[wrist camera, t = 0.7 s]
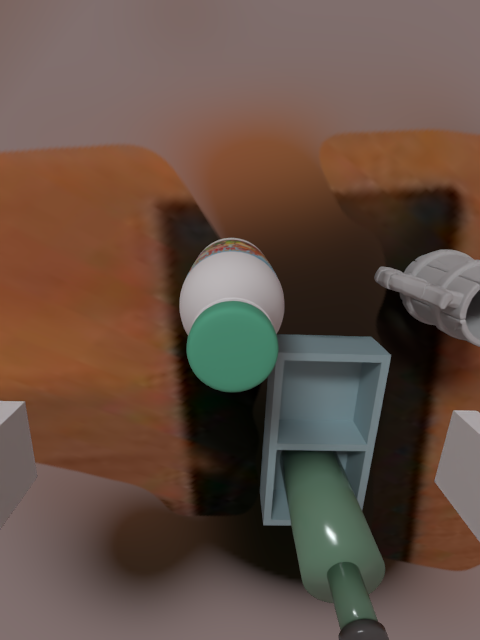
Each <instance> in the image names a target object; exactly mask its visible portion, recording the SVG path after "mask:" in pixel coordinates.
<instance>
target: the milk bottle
mask: <svg viewBox="0 0 480 640" xmlns="http://www.w3.org/2000/svg"><path fill="white" fill-rule="evenodd" d="M283 315H284V295H283V291H282V287H281V285H280V282H279V280H278V278H277V276H276V274H275V272H274V270H273V269H272V267H271V265H270V264H269V262H268V261H267V259H266V258H265V256H264V255H263V254H262V252H261V251H260V250H259V249H258V248H257V247H256V246H254V245H253V244H251V243H250V242H248V241H245V240H242V239H238V238H225V239H221V240H218V241H215V242H213V243H212V244H210V245H209V246H207V247H206V248H205V249H204V250H203V251H202V252H201V254H200V255H199V256H198V258H197V260H196V261H195V263H194V264H193V266H192V268H191V269H190V271H189V273H188V275H187V277H186V279H185V282H184V284H183V287H182V290H181V294H180V316H181V320H182V323H183V326H184V329H185V331H186V333H187V334H188V340H187V357H188V361H189V363H190V366H191V368H192V370H193V372H194V373H195V374H196V376H197V377H198V378H199V379H200V380H201V381H202V382H203V383H205V384H206V385H208V386H210V387H212V388H214V389H216V390H220V391H224V392H241V391H245V390H249V389H251V388H253V387H255V386H257V385H259V384H260V383H262V382H263V381H264V380H265V379H266V378H267V377H268V376H269V375H270V373H271V372H272V370H273V368H274V366H275V364H276V361H277V357H278V350H279V347H278V339H277V335H276V334H277V332H278V331H279V328H280V326H281V323H282V319H283Z"/></svg>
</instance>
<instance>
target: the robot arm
mask: <svg viewBox="0 0 480 640" xmlns="http://www.w3.org/2000/svg"><path fill="white" fill-rule="evenodd" d="M36 478H37V471H36V465H35V459H34V453H33V447H32V441H31V435H30V429H29V423H28V417H27V411H26V406H25V402H18V401H0V529H1V528H2V526H3V525H4V524H5V522H6V521H7V519H8V518H9V516H10V514H12V512H13V511H14V509H15V508H16V506H17V505H18V504H19V502H20V501H21V499H22V498H23V497H24V495H25V494H26V492H27V491H28V489H29V488H30V487H31V485H32V484H33V482H34V481H35V480H36ZM435 483H436V484H437V485H438V487H439V488H440V489H441V491H442V492H443V493H444V495H445V496H446V497H447V499H448V500H449V501H450V503H451V504H452V505H453V507H454V508H455V509H456V511H457V512H458V514H459V515H460V516H461V518H462V519H463V520H464V522H465V523H466V524H467V526H468V527H469V528H470V530H471V531H472V532H473V534H474V535H475V536H476V538H477V539H478V540H479V542H480V413H479V412H478V411H457V410H453V413H452V417H451V421H450V425H449V428H448V432H447V436H446V440H445V444H444V447H443V451H442V455H441V459H440V462H439V466H438V470H437V474H436V477H435Z"/></svg>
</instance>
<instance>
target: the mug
mask: <svg viewBox="0 0 480 640" xmlns="http://www.w3.org/2000/svg"><path fill="white" fill-rule="evenodd" d="M415 261H416V262H415ZM415 261H413V262H412V263H411V264H410V265H409V266H408V267H407V268H406V270H405V272H404V273H402V272H401V271H399V270H395V269H392V268H389V267H380V268H379V269H378V271H377V272H376V274H375V281H376V282H377V283H379V284H380V285H381V286H383V287H385V288H387V289H390V290H394V291H397V292H400V298H401V299H402V300H403V302H402V303H403V305H404V306H405V308H406V310H407V311H408V313H409V314H410V315H412V316H413V317H414V318H415V319H417V320H419V321H421V322H423V323H426V324H430V325H436V327H437V328H438V329H439V330H441V331H443V332H445V333H446V334H448V335H450V336H452V337H454V338H457V339H461V340H466V341H468V342H470V343H472V344H474V345H476V346H479V347H480V260H473V259H472V258H471V257H470V256H468V255H467V254H464V253H462V252H459V251H455V250H438V251H434V252H431V253H428V254H425V255H422V256H420V257H418V258H417V259H415Z"/></svg>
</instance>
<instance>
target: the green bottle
mask: <svg viewBox="0 0 480 640" xmlns="http://www.w3.org/2000/svg"><path fill="white" fill-rule="evenodd" d="M280 467H281V472H282V478H283V483H284V488H285V493H286V499H287V504H288V509H289V514H290V520H291V525H292V530H293V535H294V541H295V546H296V551H297V556H298V561H299V567H300V572H301V577H302V582H303V585H304V587H305V589H306V590H307V591H308V592H309V593H310V594H311V595H312V596H313V597H315V598H317V599H319V600H322V601H324V602H329V603H334V606H335V610H336V614H337V618H338V622H339V626H340V629H341V631H340V633H339V640H389V638H388V636H387V633H386V630H385V628H384V626H383V625H382V624H381V623H379V622H378V620H377V617H376V615H375V612H374V609H373V606H372V603H371V601H370V598H369V594H370V593H372V592H373V591H374V590H375V589H376V588H377V587H378V586H379V585H380V583H381V582H382V579H383V577H384V574H385V565H384V561H383V559H382V557H381V554H380V552H379V550H378V547H377V545H376V543H375V540H374V538H373V536H372V533H371V531H370V529H369V526H368V524H367V522H366V519H365V517H364V515H363V513H362V510H361V508H360V505H359V503H358V501H357V498H356V496H355V494H354V491H353V489H352V487H351V484H350V482H349V480H348V477H347V475H346V473H345V470H344V468H343V466H342V463H341V461H340V459H339V457H338V454H337V452H336V451H315V450H282V452H281V454H280Z"/></svg>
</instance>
